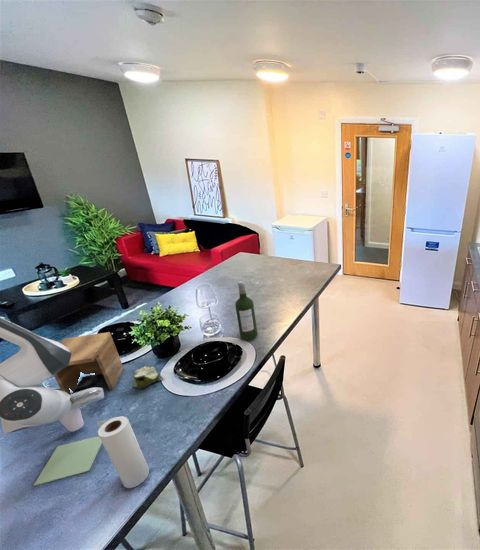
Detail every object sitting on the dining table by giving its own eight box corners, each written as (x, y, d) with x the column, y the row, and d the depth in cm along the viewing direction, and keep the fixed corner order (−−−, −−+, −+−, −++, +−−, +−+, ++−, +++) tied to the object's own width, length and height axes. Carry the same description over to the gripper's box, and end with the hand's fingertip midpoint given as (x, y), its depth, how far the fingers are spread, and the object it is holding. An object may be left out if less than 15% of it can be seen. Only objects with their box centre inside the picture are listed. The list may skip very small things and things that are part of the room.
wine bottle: (254, 329, 149) (246, 277, 137) (259, 336, 144) (252, 283, 131) (238, 334, 144) (229, 281, 132) (243, 342, 139) (234, 287, 127)
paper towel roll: (151, 478, 82) (129, 426, 73) (124, 493, 78) (98, 441, 70) (146, 459, 87) (125, 408, 78) (121, 473, 83) (96, 421, 74)
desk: (60, 407, 102) (37, 367, 95) (81, 376, 116) (63, 338, 108) (108, 397, 107) (91, 358, 99) (124, 368, 120) (109, 331, 113)
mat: (33, 486, 79) (33, 485, 79) (57, 446, 89) (57, 446, 89) (88, 471, 83) (88, 470, 83) (105, 435, 93) (105, 434, 93)
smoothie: (89, 414, 98) (74, 383, 93) (88, 428, 94) (72, 396, 88) (63, 425, 94) (45, 393, 89) (61, 439, 90) (42, 407, 84)
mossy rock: (148, 395, 110) (137, 382, 106) (131, 390, 113) (120, 377, 109) (168, 375, 117) (159, 362, 113) (152, 371, 120) (142, 358, 116)
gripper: (95, 380, 87) (107, 384, 98) (-8, 413, 75) (18, 413, 86) (99, 400, 86) (111, 402, 97) (-6, 437, 74) (21, 435, 85)
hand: (67, 408), depth 91 cm, fingers closed on smoothie, 6 cm apart
